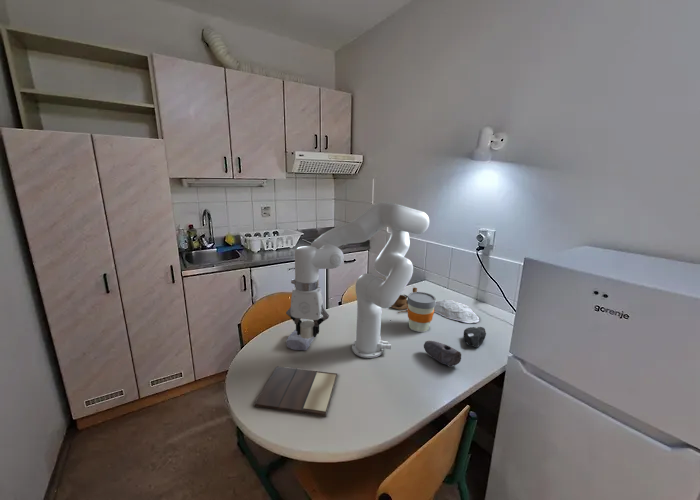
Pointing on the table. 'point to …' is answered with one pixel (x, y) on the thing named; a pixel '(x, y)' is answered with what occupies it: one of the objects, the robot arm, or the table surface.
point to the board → (298, 391)
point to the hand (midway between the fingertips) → (307, 333)
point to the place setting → (402, 302)
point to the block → (298, 342)
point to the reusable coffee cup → (420, 310)
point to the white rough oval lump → (455, 311)
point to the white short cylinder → (306, 329)
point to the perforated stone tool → (442, 353)
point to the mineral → (474, 336)
